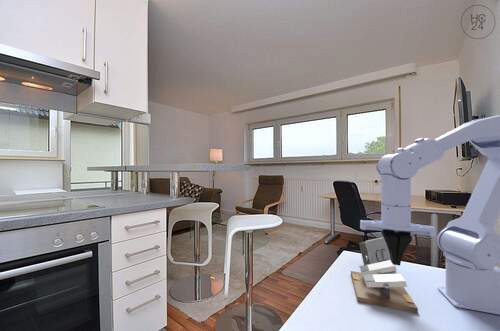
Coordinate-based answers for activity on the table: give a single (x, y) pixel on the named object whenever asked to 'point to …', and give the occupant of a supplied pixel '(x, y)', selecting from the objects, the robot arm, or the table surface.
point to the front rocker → (384, 280)
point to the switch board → (377, 298)
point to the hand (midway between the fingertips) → (395, 263)
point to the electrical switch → (374, 251)
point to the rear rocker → (378, 268)
